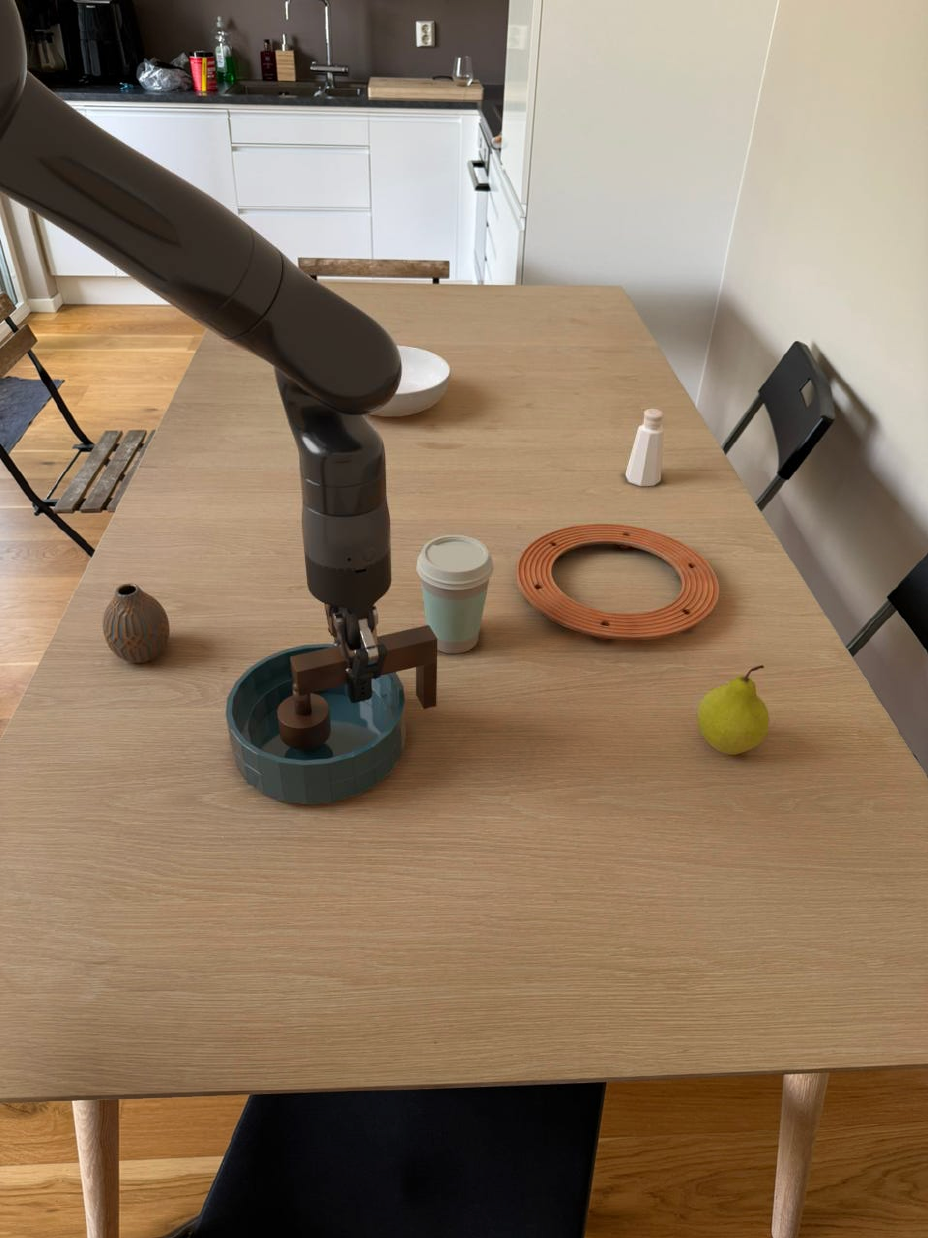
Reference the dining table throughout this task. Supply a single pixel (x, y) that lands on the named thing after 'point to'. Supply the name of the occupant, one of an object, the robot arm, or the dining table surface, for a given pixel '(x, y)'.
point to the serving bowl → (417, 383)
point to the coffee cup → (454, 589)
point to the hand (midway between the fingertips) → (355, 688)
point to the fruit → (734, 716)
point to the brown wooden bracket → (326, 668)
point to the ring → (561, 609)
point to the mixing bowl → (334, 769)
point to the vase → (135, 625)
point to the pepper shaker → (647, 451)
